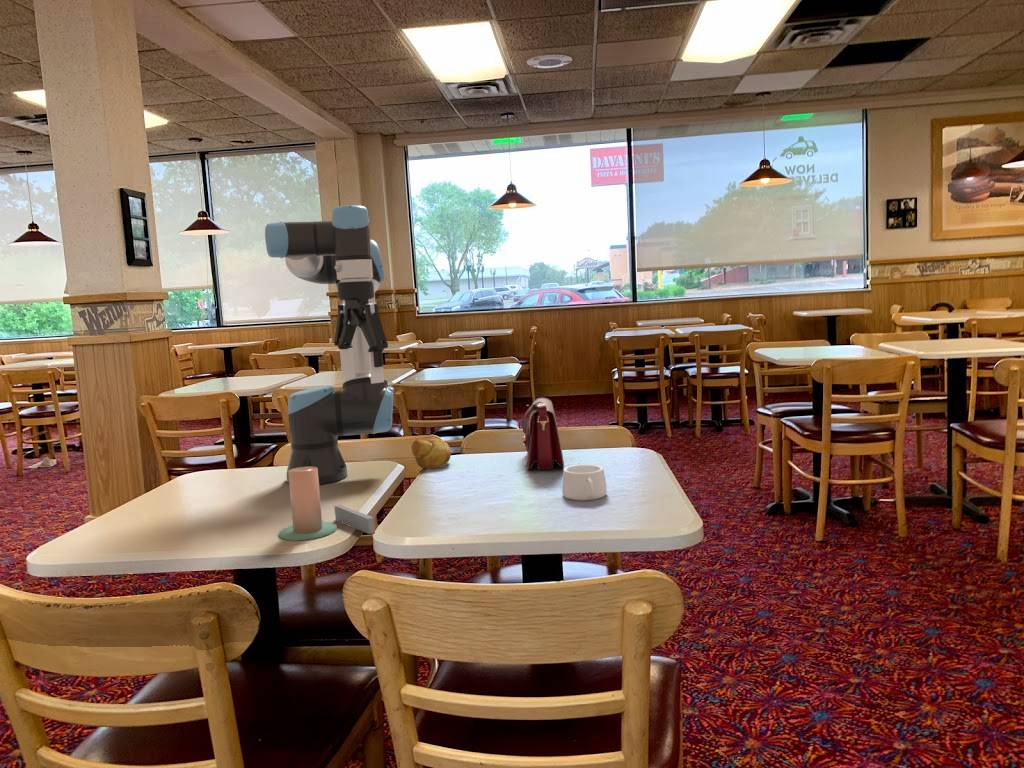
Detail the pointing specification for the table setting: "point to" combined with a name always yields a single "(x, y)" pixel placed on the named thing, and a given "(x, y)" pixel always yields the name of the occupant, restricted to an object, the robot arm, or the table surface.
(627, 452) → the table surface
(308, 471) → the peach rounded cylinder
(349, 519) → the rail
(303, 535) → the pad
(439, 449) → the bread roll
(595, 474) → the mug
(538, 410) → the handbag
